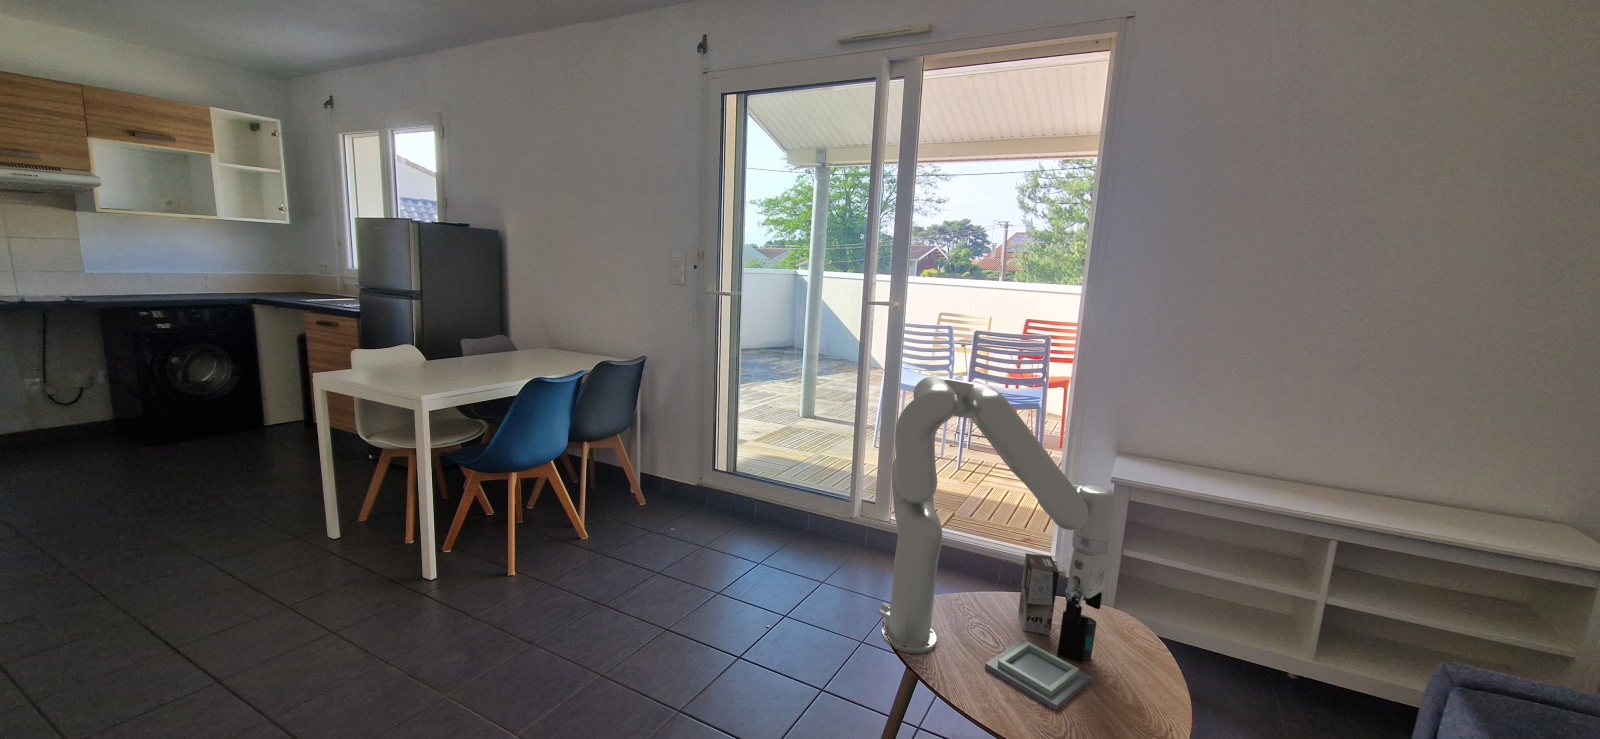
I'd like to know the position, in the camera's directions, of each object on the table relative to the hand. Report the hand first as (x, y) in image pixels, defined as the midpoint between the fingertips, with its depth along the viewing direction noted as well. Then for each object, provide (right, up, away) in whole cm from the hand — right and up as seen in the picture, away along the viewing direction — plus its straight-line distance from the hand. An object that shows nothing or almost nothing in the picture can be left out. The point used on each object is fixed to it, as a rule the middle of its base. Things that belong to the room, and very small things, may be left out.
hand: (1082, 613), depth 139 cm
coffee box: (-6, -8, +13) cm, 16 cm away
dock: (-13, -10, -7) cm, 18 cm away
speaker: (-1, -10, +2) cm, 10 cm away
